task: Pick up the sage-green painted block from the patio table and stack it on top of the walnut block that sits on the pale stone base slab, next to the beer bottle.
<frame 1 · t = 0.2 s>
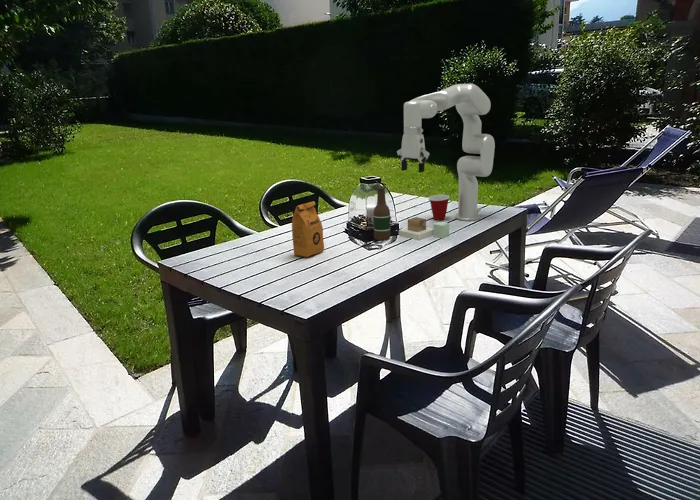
hand: (412, 171, 223), 30 cm above the table, tool pointing down, fingers open, 9 cm apart
sage block: (441, 236, 232), on the table
coffee package: (309, 254, 216), on the table
plastic cup: (438, 219, 261), on the table
base slab: (417, 234, 236), on the table
beer bottle: (382, 238, 233), on the table
walnut block: (416, 229, 235), point 2 cm above the table, touching base slab
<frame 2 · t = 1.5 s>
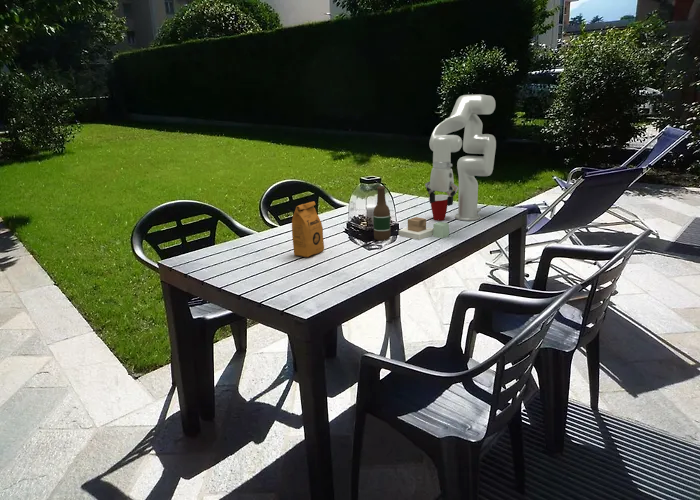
hand: (441, 203, 227), 15 cm above the table, tool pointing down, fingers open, 9 cm apart
nothing on the table moved.
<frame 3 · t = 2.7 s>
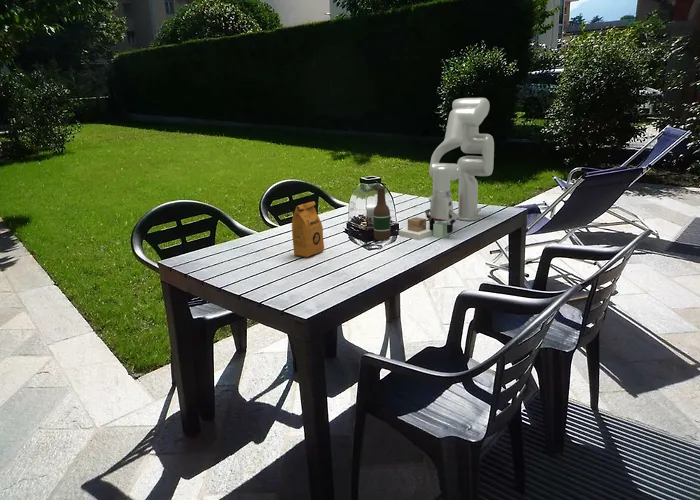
hand: (440, 231, 231), 2 cm above the table, tool pointing down, fingers open, 9 cm apart
nothing on the table moved.
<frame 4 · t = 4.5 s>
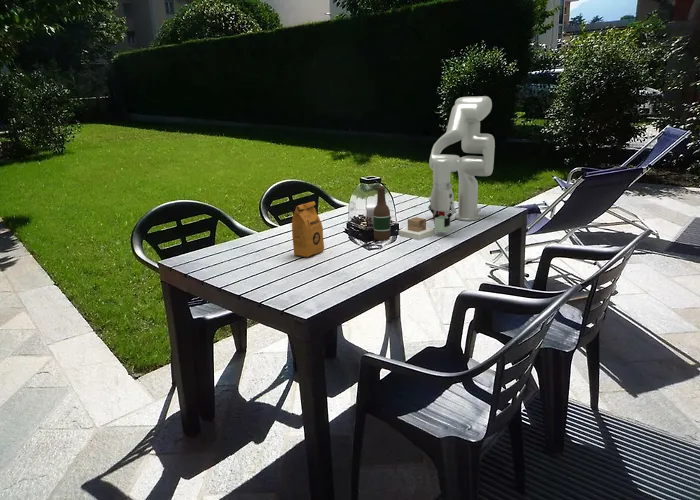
hand: (441, 224, 232), 5 cm above the table, tool pointing down, fingers closed on sage block, 4 cm apart
sage block: (442, 230, 233), point 2 cm above the table, touching gripper
everything else where it was.
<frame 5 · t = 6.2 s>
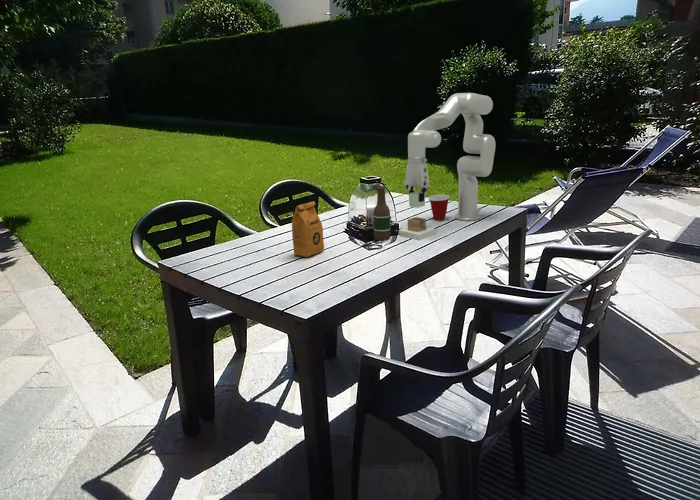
hand: (416, 200, 231), 16 cm above the table, tool pointing down, fingers closed on sage block, 4 cm apart
sage block: (417, 205, 232), point 14 cm above the table, touching gripper
everything else where it was.
when the fingers open (10 cm above the table, at t = 8.1 s): sage block stays where it is, resting on walnut block.
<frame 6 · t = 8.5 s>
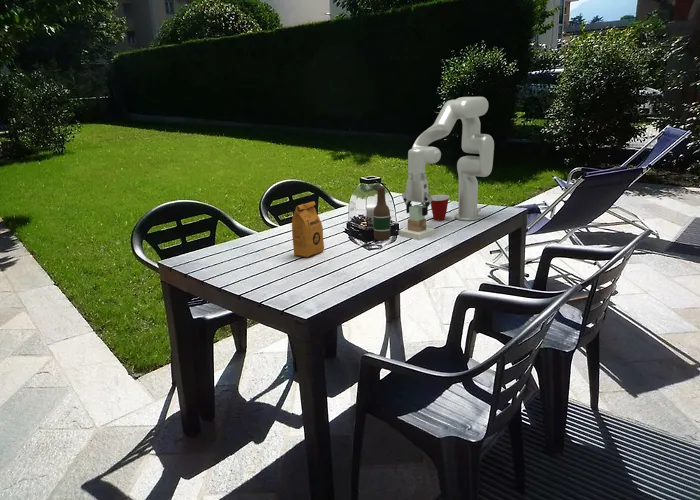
hand: (416, 214, 233), 10 cm above the table, tool pointing down, fingers open, 8 cm apart
sage block: (417, 219, 234), point 7 cm above the table, touching walnut block
walnut block: (416, 229, 235), point 2 cm above the table, touching base slab, sage block
everything else where it was.
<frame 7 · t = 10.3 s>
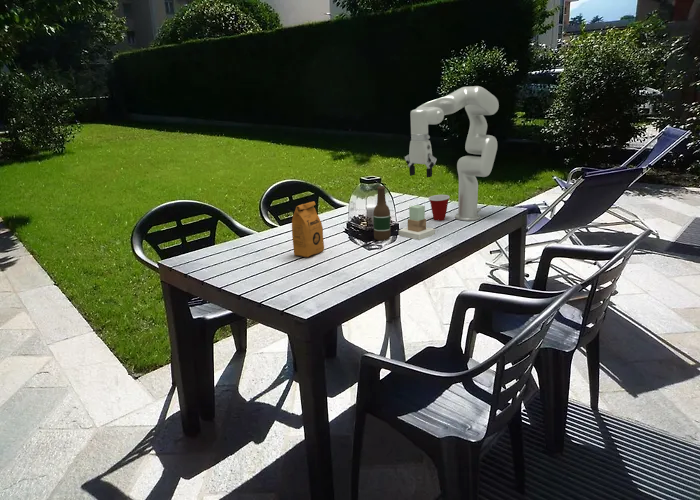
hand: (420, 176, 231), 27 cm above the table, tool pointing down, fingers open, 9 cm apart
nothing on the table moved.
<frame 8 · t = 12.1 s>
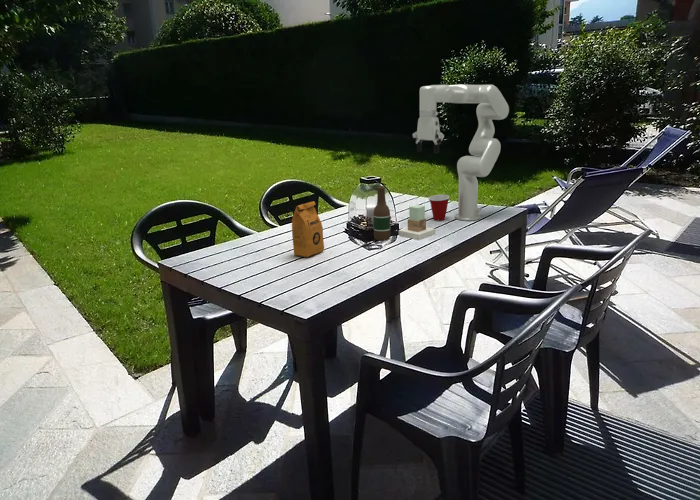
hand: (427, 152, 235), 36 cm above the table, tool pointing down, fingers open, 9 cm apart
nothing on the table moved.
at the end: sage block 0.1 cm off-centre on the walnut block, point 5.0 cm above the walnut block's base; sage block tilted 0°; the gripper is holding nothing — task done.
